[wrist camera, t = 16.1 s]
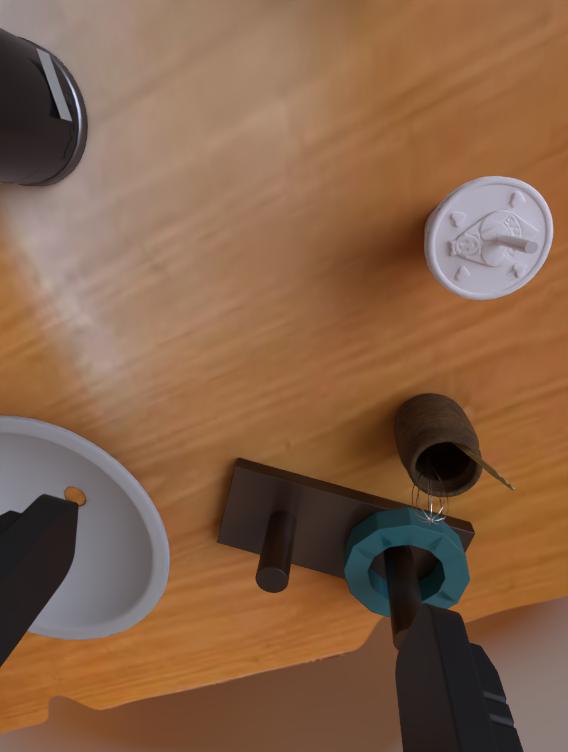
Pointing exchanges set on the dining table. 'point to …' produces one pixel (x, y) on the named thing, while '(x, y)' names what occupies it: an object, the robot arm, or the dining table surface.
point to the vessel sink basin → (88, 529)
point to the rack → (320, 534)
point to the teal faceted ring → (397, 531)
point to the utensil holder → (439, 448)
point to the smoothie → (488, 237)
